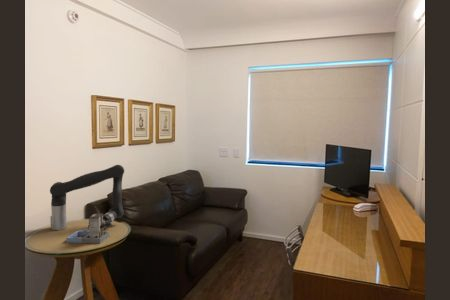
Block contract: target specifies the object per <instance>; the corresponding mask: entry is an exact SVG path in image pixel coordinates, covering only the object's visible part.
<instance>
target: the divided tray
mask: <svg viewBox="0 0 450 300" xmlns="http://www.w3.org/2000/svg"><path fill="white" fill-rule="evenodd" d="M81 236H82V237H81ZM109 237H110V231H104V235H103V236H102V237H100V238H90V236H89V230H88V229H82V230H77V231H75V232H73V233H72V234H70V235H68V236H67V237H66V243H76V244H102V243H103V242H104V241H105V240H107V239H108V238H109Z"/></svg>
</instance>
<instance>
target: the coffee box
mask: <svg viewBox="0 0 450 300" xmlns="http://www.w3.org/2000/svg"><path fill="white" fill-rule="evenodd" d="M103 215H104V213H93V214H91V215H90V216H89V217H88V225H89V228H88V229H89V230H88V231H89V236H90V238H100V237H102V236H103V235H104V232H105V231H104V227H103V228H102V229H100V225H102V224H103Z"/></svg>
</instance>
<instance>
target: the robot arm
mask: <svg viewBox="0 0 450 300" xmlns="http://www.w3.org/2000/svg"><path fill="white" fill-rule="evenodd" d="M124 174H125V168H124V167H123V166H122V165H121V164H115V165H113V166H111V167H108V168H106V169H103V170H98V171H91V172H89V173H85V174H83V175H80V176H77V177H76V178H73V179H71V180H69V181H64V182H61V181H57V182H55V183H53V184H52V185H51V186H50V188H49V193H50V194H51V202H50V203H51V215H50V217H49V218H50V230H53V231H60V230H65V229H66V228H67V227H68V226H67V225H68V223H67V194H68V193H70V192H73V191H77V190H81V189H84V188H88V187H91V186H95V185H96V184H99V183H102V182H104V181H106V180H110V179H112V181H113V182H112V183H113V184H112V192H111V193H112V194H111V204H112V205H114V206H116V207H111V208H110V209H109V210H108V212H106V213H105V214H104V213H103V224H102V225H100V229H102V228H103V229H104V228H106V227H107V228H109V227H110V226H112V225H113V221H115V220H116V218H122V217H123V216H124V214H125V213H124V207H123V203H122V202H123V201H122V200H123V199H122V198H123V191H122V190H123V189H122V188H123V185H122V184H123V176H124ZM87 227H88V229H89V224H88V225H87Z"/></svg>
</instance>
